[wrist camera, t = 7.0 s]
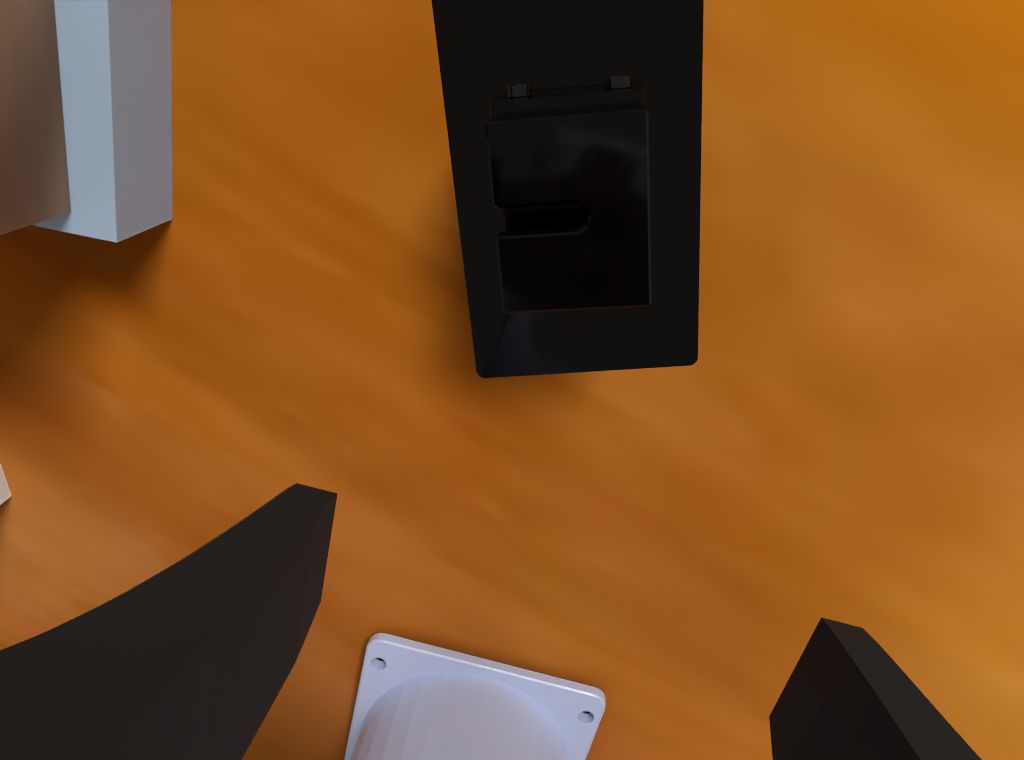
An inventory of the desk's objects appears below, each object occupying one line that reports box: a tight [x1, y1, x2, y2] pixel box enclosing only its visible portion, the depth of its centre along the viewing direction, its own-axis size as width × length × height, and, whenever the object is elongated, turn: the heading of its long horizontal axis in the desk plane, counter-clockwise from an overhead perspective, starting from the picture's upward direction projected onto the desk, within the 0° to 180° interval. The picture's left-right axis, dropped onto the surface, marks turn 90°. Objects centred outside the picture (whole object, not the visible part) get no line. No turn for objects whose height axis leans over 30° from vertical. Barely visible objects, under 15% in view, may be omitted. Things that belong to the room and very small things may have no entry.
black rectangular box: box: [432, 0, 703, 378], centre depth 17 cm, size 13×8×5 cm, turn 5°
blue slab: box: [33, 0, 172, 243], centre depth 18 cm, size 7×7×3 cm
